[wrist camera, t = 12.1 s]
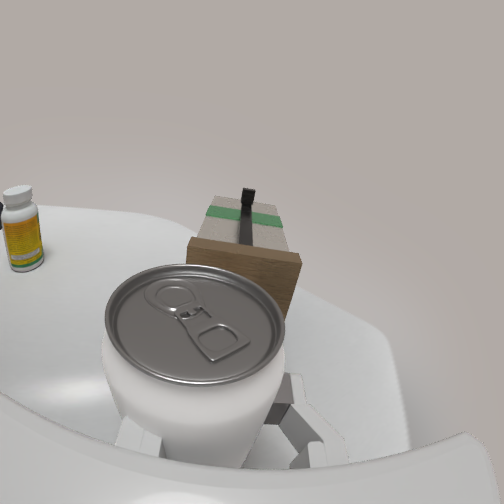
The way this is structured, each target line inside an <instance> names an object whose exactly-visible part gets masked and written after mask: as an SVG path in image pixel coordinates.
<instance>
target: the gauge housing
mask: <svg viewBox="0 0 504 504" xmlns="http://www.w3.org/2000/svg"><path fill="white" fill-rule="evenodd" d="M241 204H242V203H241V200H238V199H232V198H226V197H220V196H215V197H214V199H213V201H212V204H211V205H210V206H209V208H208V210H207V213H206V217H205V219H204V222H203V224H202V226H201V229H200V231H199V233H198V236H197V238H204V239H210V240H216V241H223V242H229V243H236V244H238V234H239V222H240V211H241ZM282 228H283V226H282V223H281V220H280V217H279V216H278V213H277V210H276V207H275V206H274V205H269V204H263V203H257V202H253V205H252V232H253V246H255V247H261V248H268V249H274V250H280V251H287V252H289V249H288V246H287V242H286V239H285V236H284V233H283V229H282Z"/></svg>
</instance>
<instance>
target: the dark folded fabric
mask: <svg viewBox="0 0 504 504" xmlns="http://www.w3.org/2000/svg"><path fill="white" fill-rule="evenodd" d="M2 211H3V204H2V203H1V202H0V230H1V229H2V222H1V213H2Z"/></svg>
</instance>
